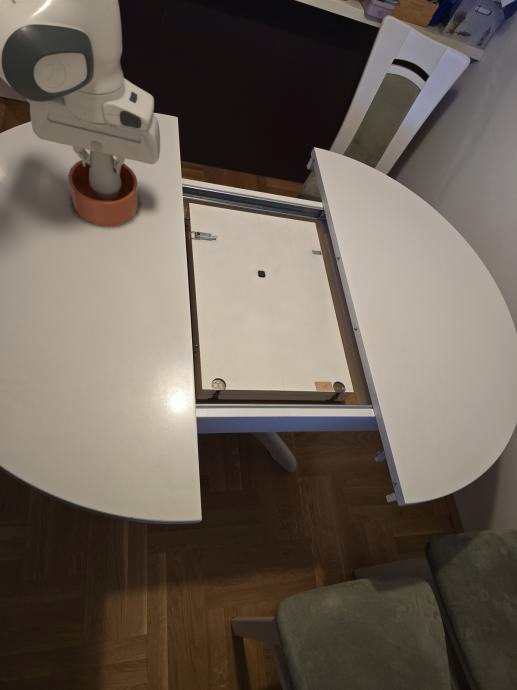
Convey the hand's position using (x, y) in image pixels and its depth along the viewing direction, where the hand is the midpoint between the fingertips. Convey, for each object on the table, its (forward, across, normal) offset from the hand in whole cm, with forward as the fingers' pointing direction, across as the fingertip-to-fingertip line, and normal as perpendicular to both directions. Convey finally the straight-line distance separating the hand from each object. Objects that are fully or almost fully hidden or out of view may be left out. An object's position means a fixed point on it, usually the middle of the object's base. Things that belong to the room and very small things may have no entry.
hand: (102, 168), depth 72 cm
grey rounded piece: (+6, 0, 0) cm, 6 cm away
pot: (+9, 0, 0) cm, 9 cm away
